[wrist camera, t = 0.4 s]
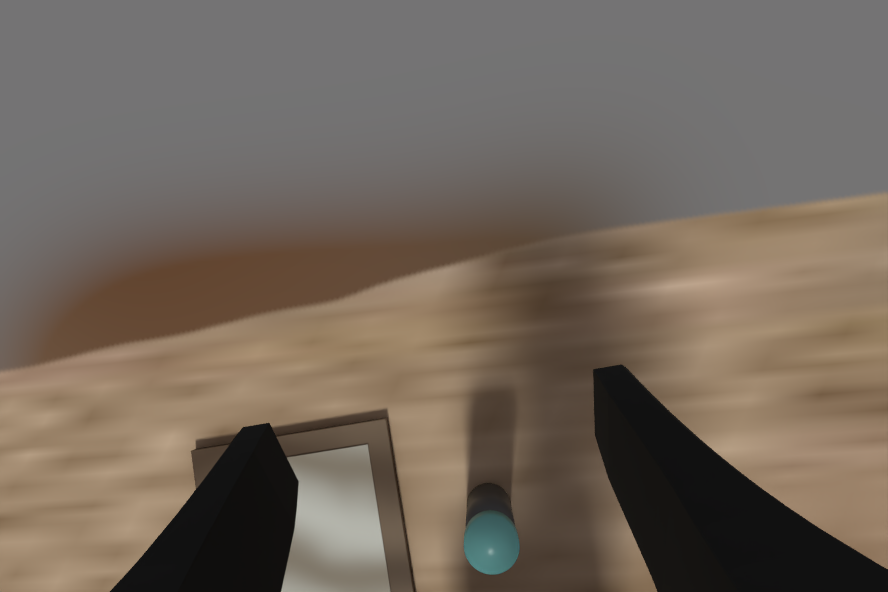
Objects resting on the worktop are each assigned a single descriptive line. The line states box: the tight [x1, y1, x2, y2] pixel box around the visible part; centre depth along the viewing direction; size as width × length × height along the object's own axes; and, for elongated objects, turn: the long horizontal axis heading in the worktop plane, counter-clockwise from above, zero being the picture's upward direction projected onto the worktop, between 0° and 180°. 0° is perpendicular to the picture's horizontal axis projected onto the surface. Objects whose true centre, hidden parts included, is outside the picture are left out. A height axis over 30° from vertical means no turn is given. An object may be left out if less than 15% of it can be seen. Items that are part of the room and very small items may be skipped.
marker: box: [464, 483, 520, 575], centre depth 33 cm, size 3×3×7 cm
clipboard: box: [191, 418, 415, 592], centre depth 37 cm, size 18×14×2 cm
